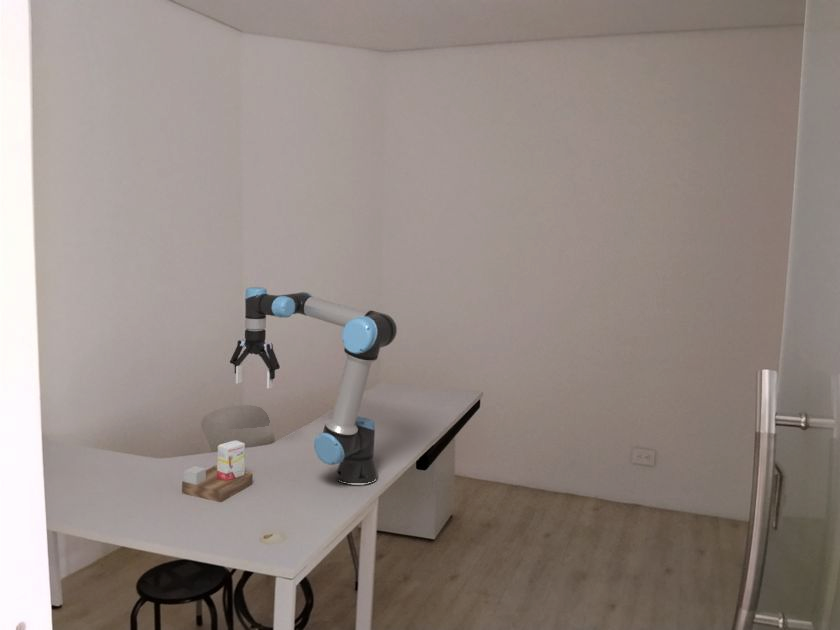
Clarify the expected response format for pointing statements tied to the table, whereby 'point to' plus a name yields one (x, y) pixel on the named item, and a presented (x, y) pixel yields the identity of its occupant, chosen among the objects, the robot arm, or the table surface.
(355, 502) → the table surface
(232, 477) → the ink box
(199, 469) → the light grey block
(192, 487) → the dock
